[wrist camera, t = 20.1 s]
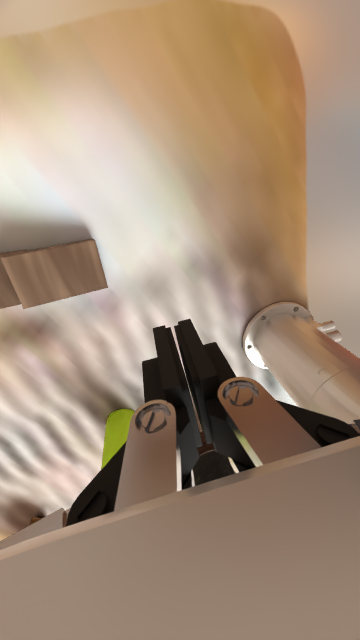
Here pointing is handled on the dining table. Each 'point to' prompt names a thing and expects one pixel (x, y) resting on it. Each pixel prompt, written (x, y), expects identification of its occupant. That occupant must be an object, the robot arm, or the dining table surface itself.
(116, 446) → the soap dispenser
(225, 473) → the black ball on stand
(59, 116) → the dining table surface
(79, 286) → the domino
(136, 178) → the dining table surface
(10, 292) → the domino
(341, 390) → the robot arm
